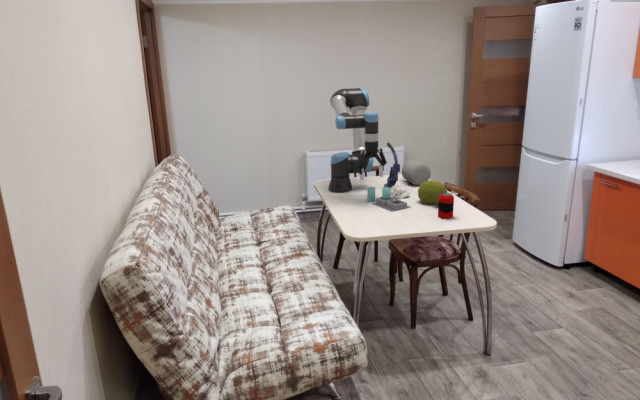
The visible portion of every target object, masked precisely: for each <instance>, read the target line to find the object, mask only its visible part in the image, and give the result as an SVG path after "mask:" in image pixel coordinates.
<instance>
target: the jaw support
mask: <svg viewBox="0 0 640 400" xmlns="http://www.w3.org/2000/svg"><path fill="white" fill-rule="evenodd" d="M410 195H411V192H410V191H408V190H407V188H405V187H404V186H403V185H402V184H401V182H396V184H395V185H394V186H392V187H391V188H390V197H392V198H395V199H398V200H402V199H405V198H406V197H407V198H408V196H410Z"/></svg>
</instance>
